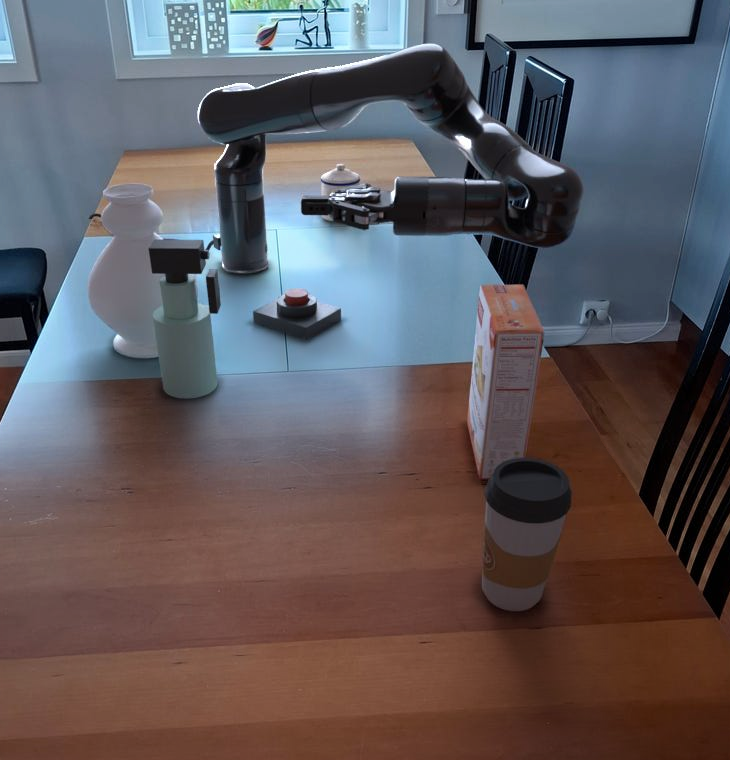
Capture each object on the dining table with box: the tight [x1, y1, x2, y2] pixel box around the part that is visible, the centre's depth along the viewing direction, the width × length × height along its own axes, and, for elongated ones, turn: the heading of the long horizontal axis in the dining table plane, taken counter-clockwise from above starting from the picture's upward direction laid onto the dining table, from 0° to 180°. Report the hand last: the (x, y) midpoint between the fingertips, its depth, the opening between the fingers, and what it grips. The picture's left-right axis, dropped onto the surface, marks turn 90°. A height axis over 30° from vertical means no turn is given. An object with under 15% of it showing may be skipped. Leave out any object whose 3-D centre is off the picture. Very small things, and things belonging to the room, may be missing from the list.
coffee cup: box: [481, 457, 573, 612], centre depth 83 cm, size 8×8×15 cm
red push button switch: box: [252, 293, 342, 340], centre depth 143 cm, size 12×10×4 cm
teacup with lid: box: [320, 163, 364, 222], centre depth 187 cm, size 12×9×12 cm
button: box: [284, 287, 309, 305], centre depth 141 cm, size 4×4×2 cm
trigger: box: [205, 268, 222, 315], centre depth 116 cm, size 1×3×6 cm, turn 176°
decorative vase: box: [86, 182, 199, 359], centre depth 131 cm, size 18×18×25 cm
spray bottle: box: [148, 239, 219, 400], centre depth 119 cm, size 9×8×22 cm
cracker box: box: [466, 284, 545, 480], centre depth 103 cm, size 14×6×21 cm, turn 178°
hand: (301, 205), depth 111 cm, fingers closed
